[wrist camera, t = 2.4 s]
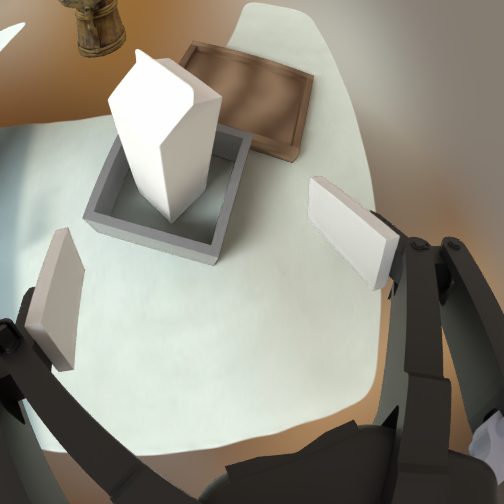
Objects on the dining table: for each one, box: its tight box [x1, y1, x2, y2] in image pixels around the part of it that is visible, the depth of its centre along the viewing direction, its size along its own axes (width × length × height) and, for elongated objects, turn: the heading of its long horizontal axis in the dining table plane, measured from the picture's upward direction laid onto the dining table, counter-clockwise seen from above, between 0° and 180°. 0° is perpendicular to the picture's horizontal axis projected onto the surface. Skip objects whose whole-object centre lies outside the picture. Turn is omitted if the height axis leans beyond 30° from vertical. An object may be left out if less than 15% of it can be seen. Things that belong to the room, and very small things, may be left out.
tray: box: [179, 41, 314, 163], centre depth 40 cm, size 20×16×2 cm
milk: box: [108, 49, 222, 223], centre depth 27 cm, size 6×6×22 cm
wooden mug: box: [59, 0, 126, 58], centre depth 30 cm, size 9×14×18 cm, turn 8°
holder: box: [83, 124, 254, 266], centre depth 34 cm, size 15×15×6 cm
